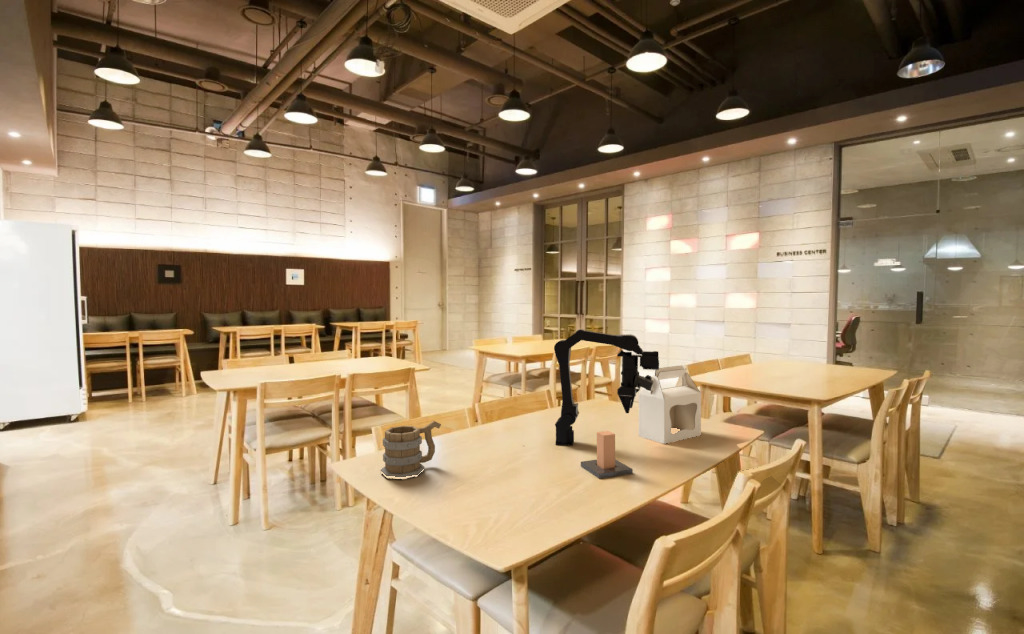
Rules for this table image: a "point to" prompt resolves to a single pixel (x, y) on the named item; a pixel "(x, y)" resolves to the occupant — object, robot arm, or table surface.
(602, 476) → the plate
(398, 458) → the tankard
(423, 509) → the table surface
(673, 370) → the gable box
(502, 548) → the table surface
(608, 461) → the block
